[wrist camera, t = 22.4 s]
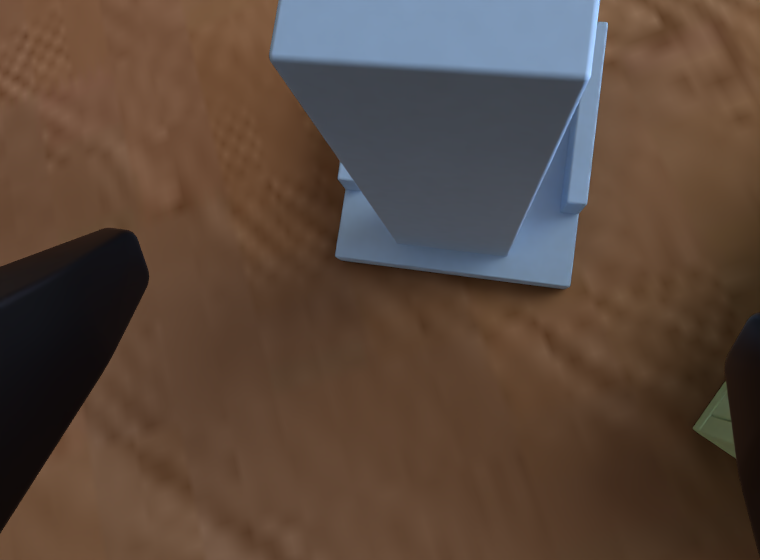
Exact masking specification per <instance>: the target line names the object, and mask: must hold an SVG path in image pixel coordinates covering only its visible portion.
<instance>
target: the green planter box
mask: <svg viewBox="0 0 760 560" xmlns="http://www.w3.org/2000/svg"><path fill="white" fill-rule="evenodd" d="M693 430H694V431H696V432H697V433H699V434H700V435H702V436H703V437H705V438H706V439H708V440H709V441H711V442H712V443H714V444H715V445H717V446H718V447H720V448H721V449H722V450H724V451H725V452H727V453H728V454H730V455H731V456H733V457H734V458H736V454H735V447H734V439H733V431H732V424H731V416H730V409H729V401H728V393H727V386H726V381H725V382H724V384H723V385H722V387H721V388H720V389H719V391H718V392H717V394H716V395H715V397H714V398H713V399H712V401H711V402H710V404H709V405H708V407H707V408H706V409H705V411H704V412H703V414H702V415H701V417H700V418H699V419H698V421H697V422H696V424H695V425H694V427H693Z"/></svg>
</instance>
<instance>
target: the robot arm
mask: <svg viewBox="0 0 760 560" xmlns="http://www.w3.org/2000/svg"><path fill="white" fill-rule="evenodd" d="M148 281H149V272H148V268H147V265H146V262H145V259H144V256H143V253H142V251H141V248H140V245H139V242H138V239H137V237H136V236H135V234H134V233H133V232H131V231H129V230H123V229H115V228H104V229H101V230H98V231H96V232H93V233H90V234H88V235H85V236H82V237H80V238H77V239H74V240H71V241H69V242H66V243H63V244H61V245H58V246H55V247H52V248H50V249H47V250H44V251H42V252H39V253H36V254H34V255H31V256H28V257H25V258H23V259H20V260H17V261H15V262H12V263H9V264H7V265H4V266H1V267H0V533H1V531H2V530H3V528H4V527H5V525H6V524H7V522H8V520H9V519H10V517H11V516H12V514H13V513H14V511H15V509H16V508H17V506H18V505H19V503H20V502H21V500H22V498H23V497H24V495H25V494H26V492H27V491H28V489H29V488H30V486H31V484H32V483H33V481H34V480H35V478H36V477H37V475H38V473H39V472H40V470H41V469H42V467H43V466H44V464H45V462H46V461H47V459H48V458H49V456H50V455H51V453H52V451H53V450H54V448H55V447H56V445H57V444H58V442H59V441H60V439H61V437H62V436H63V434H64V433H65V431H66V430H67V428H68V426H69V425H70V423H71V422H72V420H73V419H74V417H75V415H76V414H77V412H78V411H79V409H80V408H81V406H82V404H83V403H84V401H85V400H86V398H87V397H88V395H89V393H90V392H91V390H92V389H93V387H94V386H95V384H96V383H97V381H98V379H99V378H100V376H101V375H102V373H103V371H104V370H105V368H106V366H107V365H108V363H109V361H110V359H111V357H112V355H113V354H114V352H115V350H116V348H117V346H118V344H119V342H120V340H121V338H122V336H123V334H124V332H125V330H126V328H127V326H128V324H129V322H130V320H131V318H132V316H133V314H134V312H135V310H136V308H137V306H138V304H139V302H140V300H141V298H142V296H143V294H144V292H145V290H146V288H147V285H148ZM725 378H726V386H727V393H728V401H729V409H730V416H731V424H732V431H733V439H734V447H735V454H736V461H737V467H738V473H739V478H740V482H741V487H742V491H743V495H744V499H745V503H746V507H747V510H748V514H749V518H750V522H751V526H752V530H753V533H754V537H755V541H756V545H757V549H758V553H759V556H760V312H759V313H755V314H753V315H752V316H751V317H750V318H749V319H748V320H747V322H746V324H745V325H744V327H743V329H742V331H741V332H740V334H739V336H738V338H737V339H736V341H735V343H734V345H733V346H732V348H731V350H730V352H729V353H728V356H727V358H726V362H725Z"/></svg>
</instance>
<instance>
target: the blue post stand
mask: <svg viewBox="0 0 760 560" xmlns="http://www.w3.org/2000/svg"><path fill="white" fill-rule="evenodd" d="M599 4H600V0H279V2H278V7H277V13H276V18H275V24H274V30H273V35H272V41H271V47H270V52H269V58H270V61H271V63H272V64H273V66H274V67H275V68H276V70H277V71H278V73H279V74H280V76H281V77H282V79H283V80H284V81H285V83H286V84H287V86H288V87H289V89H290V90H291V91H292V93H293V94H294V96H295V97H296V99H297V100H298V102H299V103H300V104H301V106H302V107H303V109H304V110H305V112H306V113H307V114H308V116H309V117H310V119H311V120H312V122H313V123H314V124H315V126H316V127H317V129H318V130H319V132H320V133H321V135H322V136H323V137H324V139H325V140H326V142H327V143H328V145H329V146H330V147H331V149H332V150H333V152H334V153H335V155H336V156H337V157H338V159H339V160H340V165H339V171H338V177H337V178H338V180H339V182H340V183H341V184H342V185H343V187H344V188H345V196H344V202H343V208H342V214H341V221H340V227H339V233H338V240H337V246H336V252H335V257H337V258H338V259H340V260H342V261H350V262H357V263H365V264H373V265H381V266H388V267H396V268H404V269H411V270H419V271H427V272H435V273H442V274H450V275H458V276H465V277H473V278H481V279H489V280H496V281H504V282H512V283H519V284H527V285H535V286H543V287H550V288H558V289H567V288H568V287H570V285H571V276H572V268H573V259H574V251H575V242H576V234H577V225H578V217H579V213H580V212H581V211H582V209H583V208H584V207H585V206H586V205H587V201H588V192H589V184H590V175H591V167H592V158H593V150H594V141H595V132H596V124H597V115H598V107H599V98H600V90H601V81H602V72H603V64H604V55H605V47H606V38H607V29H608V23H607V22H597V21H598V12H599Z"/></svg>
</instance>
